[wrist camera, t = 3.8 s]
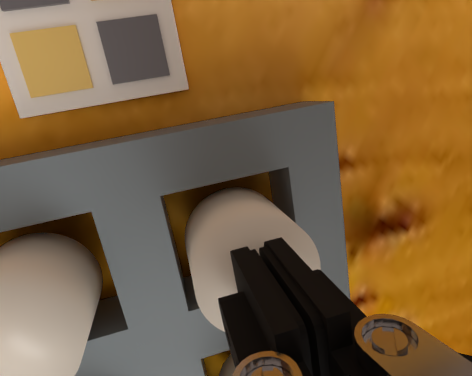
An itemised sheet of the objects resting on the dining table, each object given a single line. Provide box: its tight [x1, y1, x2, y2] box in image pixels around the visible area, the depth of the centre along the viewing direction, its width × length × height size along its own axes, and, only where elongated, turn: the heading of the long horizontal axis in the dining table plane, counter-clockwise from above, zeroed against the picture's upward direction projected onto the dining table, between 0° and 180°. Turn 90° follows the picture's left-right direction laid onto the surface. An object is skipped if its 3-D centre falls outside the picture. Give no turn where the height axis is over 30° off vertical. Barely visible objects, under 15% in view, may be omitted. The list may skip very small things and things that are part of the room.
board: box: [0, 101, 350, 376], centre depth 16 cm, size 18×18×3 cm
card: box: [0, 0, 189, 118], centre depth 13 cm, size 7×7×1 cm
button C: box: [0, 232, 103, 376], centre depth 12 cm, size 4×4×4 cm
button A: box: [185, 187, 321, 332], centre depth 13 cm, size 4×4×4 cm
